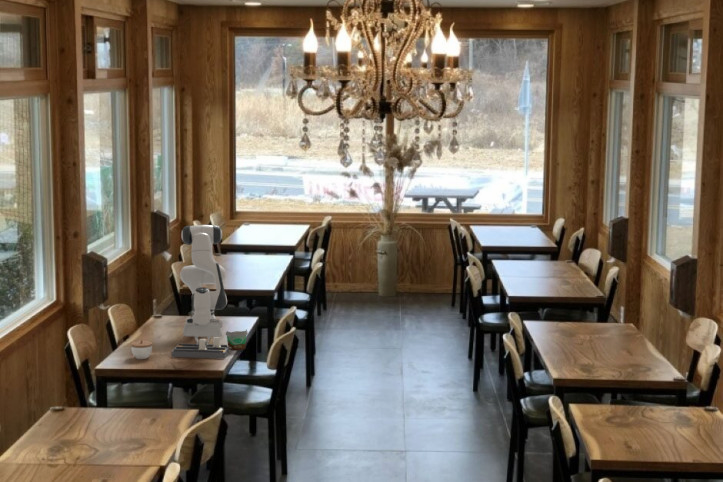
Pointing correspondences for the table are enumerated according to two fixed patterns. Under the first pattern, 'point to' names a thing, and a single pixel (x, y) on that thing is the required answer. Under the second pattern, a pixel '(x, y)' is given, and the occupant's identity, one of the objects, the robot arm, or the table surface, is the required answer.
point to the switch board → (200, 351)
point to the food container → (236, 340)
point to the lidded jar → (141, 349)
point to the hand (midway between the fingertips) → (202, 344)
